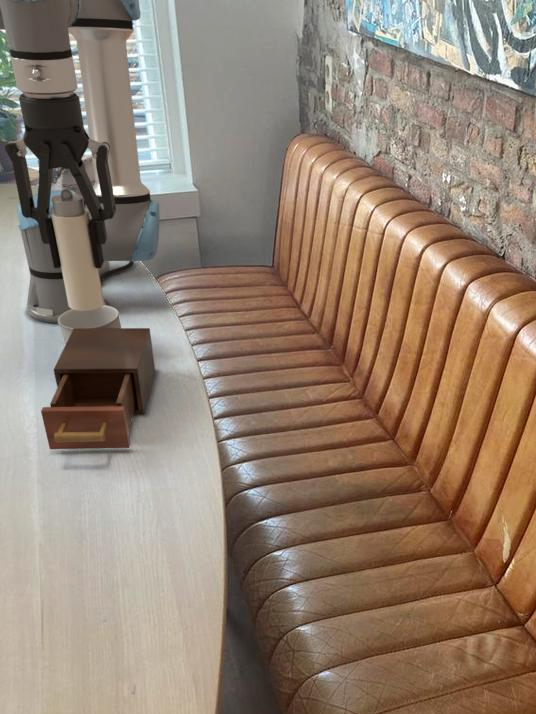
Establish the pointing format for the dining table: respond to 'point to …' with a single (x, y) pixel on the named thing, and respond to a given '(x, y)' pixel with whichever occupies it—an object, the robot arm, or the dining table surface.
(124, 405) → the drawer
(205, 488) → the dining table surface
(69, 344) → the cabinet
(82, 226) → the pepper mill
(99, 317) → the teacup
